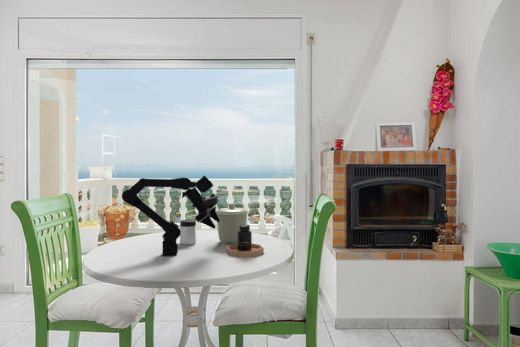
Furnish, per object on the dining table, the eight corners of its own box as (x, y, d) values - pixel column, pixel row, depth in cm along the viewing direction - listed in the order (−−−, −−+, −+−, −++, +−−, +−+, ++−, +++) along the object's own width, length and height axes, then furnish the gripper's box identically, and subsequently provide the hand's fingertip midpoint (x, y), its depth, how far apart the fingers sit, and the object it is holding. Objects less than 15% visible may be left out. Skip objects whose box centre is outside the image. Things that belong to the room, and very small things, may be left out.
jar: (183, 245, 189) (182, 222, 188) (177, 242, 195) (177, 220, 195) (199, 243, 194) (199, 220, 193) (193, 240, 200) (192, 218, 200)
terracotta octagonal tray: (230, 257, 165) (230, 252, 165) (224, 249, 181) (224, 244, 181) (266, 255, 169) (266, 250, 169) (257, 247, 185) (257, 242, 185)
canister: (222, 237, 209) (222, 200, 208) (252, 239, 204) (252, 201, 203) (209, 244, 191) (209, 204, 190) (242, 246, 186) (242, 205, 186)
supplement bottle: (243, 252, 170) (243, 227, 169) (234, 250, 175) (234, 225, 174) (254, 250, 174) (254, 225, 174) (245, 247, 179) (245, 223, 179)
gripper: (204, 194, 163) (226, 221, 165) (214, 185, 181) (233, 209, 183) (186, 208, 165) (207, 235, 167) (197, 198, 184) (216, 222, 185)
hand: (217, 224), depth 175 cm, fingers open, 9 cm apart
